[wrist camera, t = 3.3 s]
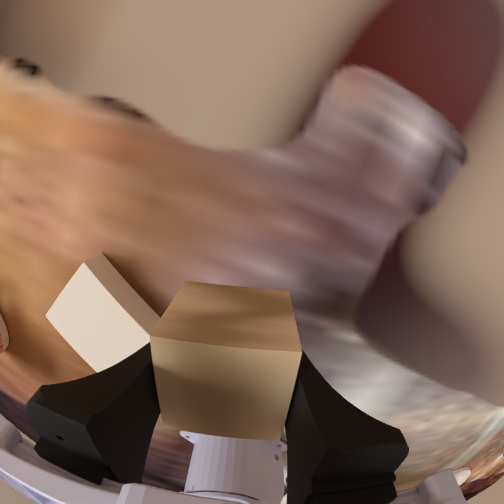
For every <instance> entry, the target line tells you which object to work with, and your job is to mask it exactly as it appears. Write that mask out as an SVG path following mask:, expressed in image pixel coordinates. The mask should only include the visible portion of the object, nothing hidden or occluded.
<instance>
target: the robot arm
mask: <svg viewBox="0 0 504 504" xmlns="http://www.w3.org/2000/svg"><path fill="white" fill-rule="evenodd" d="M26 410H27V414H28V416H29V418H30V420H31V421H32V423H33V425H34V426H35V428H36V429H37V431H38V432H39V434H40V436H41V437H40V439H39V440H38V442H37V443H36V445H34V444H33V443H31V442H29V441H28V440H26V439H24V438H23V437H22V436H21V434H20V432H19V431H18V429H17V428H16V427H15V426H14V425H13V424H12V423H10V422H9V421H8V420H6V419H5V418H3V417H2V416H0V478H2V479H3V480H4V481H5V482H7V483H8V484H9V485H10V486H12V487H13V488H14V489H16V490H17V491H19V492H20V493H21V494H23V495H24V496H26V497H27V498H28V499H30V500H31V501H33V502H34V503H36V504H280V503H281V501H282V498H283V495H284V474H283V455H282V452H284V451H287V503H286V504H467V503H466V500H465V498H464V496H463V494H462V491H461V489H460V487H459V485H458V483H457V480H456V478H455V476H454V474H453V472H452V470H451V469H446V470H444V471H441V472H439V473H436V474H433V475H431V476H428V477H427V478H425V479H424V480H422V481H421V482H420V483H419V485H418V486H417V487H414V488H411V489H408V490H404V491H401V492H397V493H396V490H395V487H394V483H393V482H394V481H395V480H396V477H395V474H394V471H395V470H396V469H397V468H398V467H399V466H400V465H401V463H402V462H403V461H404V460H405V458H406V457H407V455H408V452H409V448H408V446H407V443H406V441H405V438H404V436H403V434H402V432H401V431H400V429H397V428H395V427H392V426H390V425H387V424H385V423H383V422H381V421H379V420H377V419H375V418H373V417H371V416H369V415H367V414H366V413H364V412H363V411H361V410H360V409H358V408H357V407H355V406H354V405H352V404H351V403H350V402H348V401H347V400H346V399H345V398H343V397H342V396H341V395H340V394H339V393H338V392H337V391H335V390H334V389H333V388H332V387H331V386H330V384H329V383H328V382H327V381H326V380H325V379H324V378H323V377H322V375H321V374H320V373H319V372H318V370H317V369H316V368H315V367H314V365H313V364H312V363H311V361H310V360H309V358H308V357H307V356H306V354H305V353H304V351H303V350H302V355H301V360H300V364H299V368H298V373H297V377H296V381H295V385H294V389H293V393H292V397H291V401H290V405H289V409H288V413H287V417H286V420H285V430H286V437H287V444H285V443H283V442H282V441H275V440H253V439H240V438H229V437H220V436H212V435H205V434H198V433H192V432H186V431H181V432H180V435H181V436H183V437H184V438H186V439H187V440H189V441H190V442H192V443H194V449H193V453H192V458H191V462H190V467H189V471H188V476H187V480H186V485H185V490H184V492H174V491H169V490H165V489H160V488H156V487H152V486H149V485H143V484H141V482H142V476H143V471H144V466H145V462H146V457H147V453H148V449H149V445H150V441H151V438H152V434H153V431H154V427H155V425H156V422H157V419H158V417H159V415H160V412H161V411H160V406H159V400H158V394H157V388H156V382H155V375H154V368H153V361H152V353H151V345H150V342H149V343H147V344H146V345H145V346H143V347H142V348H140V349H139V350H138V351H136V352H135V353H133V354H132V355H130V356H128V357H127V358H125V359H124V360H122V361H120V362H119V363H117V364H115V365H113V366H111V367H109V368H107V369H105V370H103V371H100V372H98V373H95V374H92V375H90V376H87V377H84V378H81V379H77V380H73V381H69V382H64V383H59V384H51V385H42V386H41V387H40V388H39V389H38V390H37V391H36V393H35V394H34V395H33V396H32V397H31V399H30V400H29V401H28V402H27V404H26Z"/></svg>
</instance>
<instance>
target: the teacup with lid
mask: <svg viewBox="0 0 504 504" xmlns="http://www.w3.org/2000/svg"><path fill="white" fill-rule="evenodd" d="M8 344H9V336H8V331H7V327H6V324H5V322H4V319H3V317H2V315H1V313H0V354H1V353H2V352H3V351H4V350H5V349H6V348H7V347H8Z"/></svg>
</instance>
